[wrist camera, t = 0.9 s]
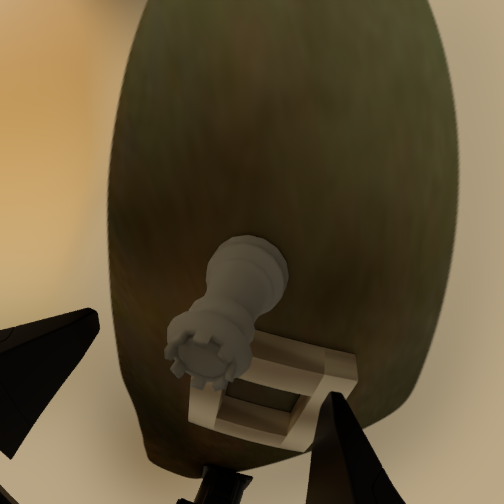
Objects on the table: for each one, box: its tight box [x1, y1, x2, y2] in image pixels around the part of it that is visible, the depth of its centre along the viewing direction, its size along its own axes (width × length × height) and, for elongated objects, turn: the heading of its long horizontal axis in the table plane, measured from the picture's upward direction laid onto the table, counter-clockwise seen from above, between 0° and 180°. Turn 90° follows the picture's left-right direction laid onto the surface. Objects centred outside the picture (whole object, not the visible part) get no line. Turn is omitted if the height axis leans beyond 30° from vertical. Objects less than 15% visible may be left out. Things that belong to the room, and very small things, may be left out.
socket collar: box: [188, 330, 358, 452], centre depth 18 cm, size 10×10×2 cm
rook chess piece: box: [164, 235, 289, 391], centre depth 12 cm, size 4×4×8 cm
